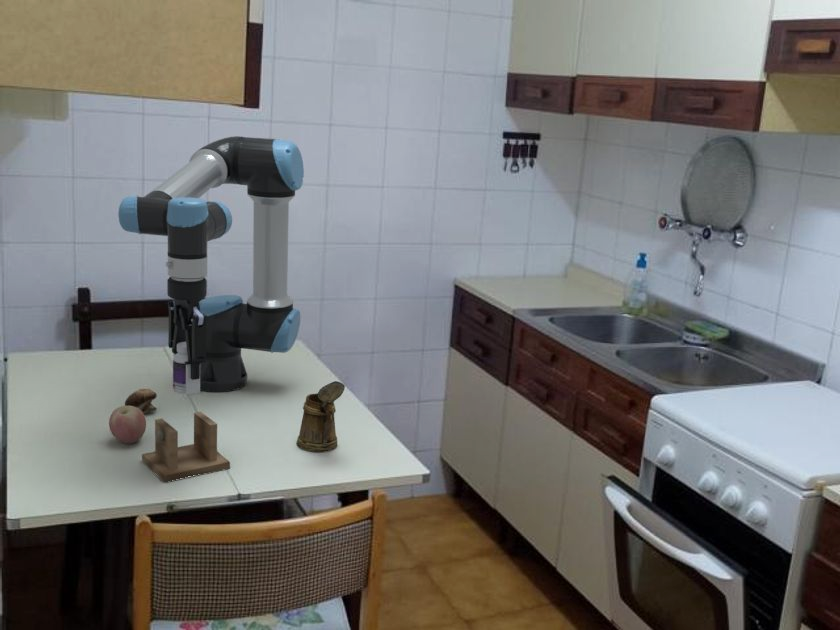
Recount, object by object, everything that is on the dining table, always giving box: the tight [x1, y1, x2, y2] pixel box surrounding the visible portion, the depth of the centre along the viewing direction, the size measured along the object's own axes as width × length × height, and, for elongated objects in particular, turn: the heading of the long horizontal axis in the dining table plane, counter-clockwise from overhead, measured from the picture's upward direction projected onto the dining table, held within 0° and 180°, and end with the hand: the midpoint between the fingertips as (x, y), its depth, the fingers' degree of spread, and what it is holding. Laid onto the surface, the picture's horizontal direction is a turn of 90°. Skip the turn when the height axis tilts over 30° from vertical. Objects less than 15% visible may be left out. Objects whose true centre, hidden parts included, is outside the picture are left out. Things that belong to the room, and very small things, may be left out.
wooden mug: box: [296, 380, 346, 453], centre depth 195 cm, size 9×14×18 cm, turn 27°
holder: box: [141, 411, 231, 483], centre depth 183 cm, size 12×14×10 cm
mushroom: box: [124, 388, 157, 414], centre depth 211 cm, size 8×8×6 cm
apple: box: [108, 405, 147, 445], centre depth 193 cm, size 8×8×8 cm
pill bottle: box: [172, 342, 201, 395], centre depth 179 cm, size 5×5×10 cm
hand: (186, 388), depth 180 cm, fingers closed on pill bottle, 5 cm apart
